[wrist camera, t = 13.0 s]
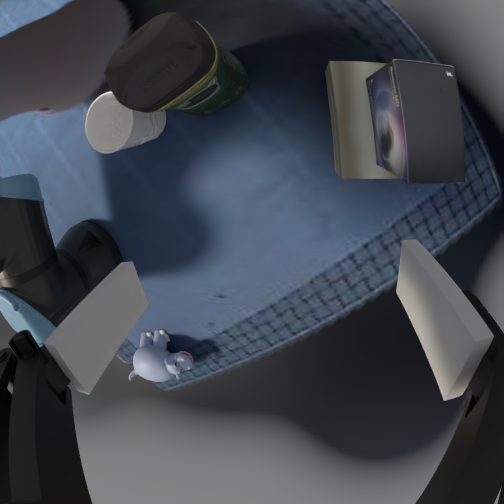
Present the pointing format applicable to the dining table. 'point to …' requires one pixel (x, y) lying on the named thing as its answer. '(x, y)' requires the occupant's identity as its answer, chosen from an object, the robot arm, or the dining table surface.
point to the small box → (417, 121)
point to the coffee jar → (174, 69)
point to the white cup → (120, 125)
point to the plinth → (353, 120)
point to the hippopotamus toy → (158, 358)
